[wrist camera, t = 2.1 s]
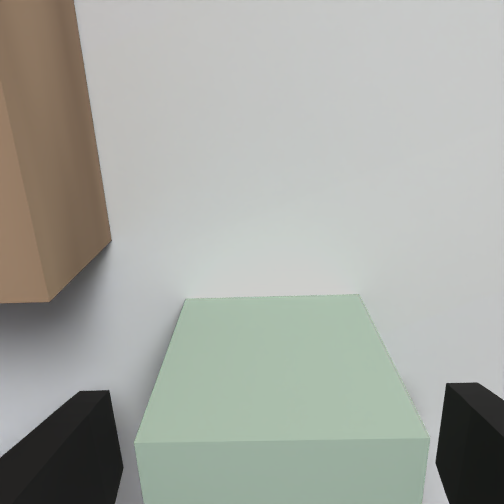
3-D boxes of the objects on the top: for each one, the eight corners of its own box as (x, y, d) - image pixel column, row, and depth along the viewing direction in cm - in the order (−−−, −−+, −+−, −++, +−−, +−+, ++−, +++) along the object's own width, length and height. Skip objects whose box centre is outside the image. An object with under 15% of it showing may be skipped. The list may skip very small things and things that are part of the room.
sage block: (199, 433, 12) (165, 630, 7) (186, 297, 10) (133, 443, 6) (351, 431, 11) (405, 630, 7) (358, 293, 10) (429, 437, 6)
